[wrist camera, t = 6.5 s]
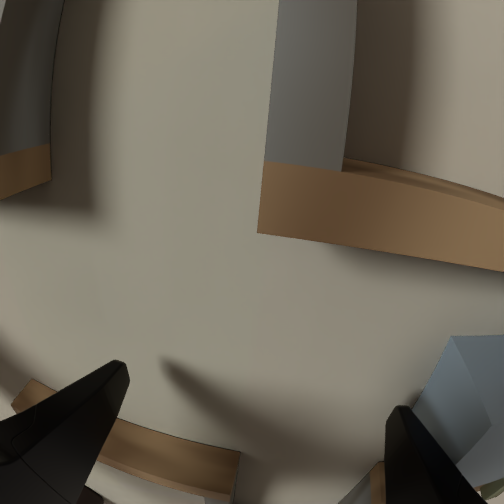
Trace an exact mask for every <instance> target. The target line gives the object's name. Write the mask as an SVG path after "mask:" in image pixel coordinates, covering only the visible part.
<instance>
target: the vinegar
mask: <svg viewBox="0 0 504 504" xmlns="http://www.w3.org/2000/svg"><path fill="white" fill-rule="evenodd" d="M103 503H104V501H103V499H102V497H100V496H99V495H98V494H97V493H95V492H94V491H92V490H91V489H89V488H88V487H86V486H85V485H84V487H83V489H82V491H81V494H80V496H79V498H78V500H77V502H76V504H103Z"/></svg>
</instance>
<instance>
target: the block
mask: <svg viewBox="0 0 504 504" xmlns="http://www.w3.org/2000/svg"><path fill="white" fill-rule="evenodd" d="M412 411H413V412H414V414H415V415H416V416H417V417H418V418H419V420H420V421H421V422H422V423H423V425H424V426H425V427H426V428H427V430H428V431H429V432H430V434H431V435H432V436H433V437H434V439H435V440H436V441H437V442H438V444H439V445H440V446H441V447H442V449H443V450H444V451H445V453H446V454H447V455H448V456H449V458H450V459H451V460H452V461H453V463H454V464H455V465H456V467H457V468H458V469H459V470H460V472H461V473H462V475H463V476H464V477H465V478H466V479H467V481H468V482H469V483H470V484H471V486H472V487H473V488H474V487H477V486H480V485H484V484H487V483H490V482H493V481H496V480H498V479H501V478H504V335H487V336H451V337H450V339H449V341H448V344H447V346H446V348H445V350H444V352H443V354H442V356H441V358H440V360H439V362H438V364H437V366H436V368H435V370H434V372H433V374H432V375H431V377H430V379H429V381H428V383H427V385H426V386H425V388H424V390H423V392H422V393H421V395H420V397H419V399H418V400H417V402H416V404H415V405H414V407H413V409H412Z"/></svg>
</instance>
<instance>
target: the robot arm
mask: <svg viewBox="0 0 504 504" xmlns="http://www.w3.org/2000/svg"><path fill="white" fill-rule="evenodd" d="M129 383H130V377H129V374H128V370H127V366H126V364H125V363H124V362H122V361H119V360H112V361H110V362H109V363H107V364H105V365H104V366H102V367H100V368H98V369H97V370H95V371H93V372H92V373H90V374H88V375H86V376H85V377H83V378H81V379H79V380H78V381H76V382H74V383H72V384H71V385H69V386H67V387H65V388H64V389H62V390H60V391H58V392H56V393H55V394H53V395H51V396H49V397H48V398H46V399H44V400H42V401H40V402H39V403H37V404H36V405H33V406H31V407H29V408H28V409H26V410H24V411H22V412H20V413H18V414H16V415H14V416H11V417H9V418H7V419H4V420H2V421H0V504H76V502H77V500H78V498H79V496H80V494H81V491H82V489H83V487H84V485H85V483H86V481H87V479H88V476H89V474H90V472H91V470H92V468H93V466H94V464H95V462H96V460H97V458H98V455H99V453H100V451H101V449H102V447H103V445H104V443H105V441H106V439H107V437H108V435H109V433H110V431H111V429H112V427H113V425H114V423H115V421H116V419H117V416H118V413H119V411H120V408H121V405H122V402H123V400H124V397H125V394H126V391H127V389H128V386H129ZM384 470H385V492H386V504H488V503H487V502H486V501H485V500H484V499H483V498H482V497H481V496H480V495H479V494H478V493H477V492H476V491H475V489H474V488H473V487H472V486H471V484H470V483H469V482H468V481H467V479H466V478H465V477H464V476H463V475H462V473H461V472H460V470H459V469H458V468H457V467H456V465H455V464H454V463H453V461H452V460H451V459H450V458H449V456H448V455H447V454H446V453H445V451H444V450H443V449H442V447H441V446H440V445H439V444H438V442H437V441H436V440H435V439H434V437H433V436H432V435H431V434H430V432H429V431H428V430H427V428H426V427H425V426H424V425H423V423H422V422H421V421H420V420H419V418H418V417H417V416H416V415H415V414H414V412H413V411H412V410H411V409H410V407H409V406H406V405H398V406H396V407H395V408H394V410H393V411H392V413H391V414H390V416H389V417H388V419H387V421H386V428H385V455H384Z"/></svg>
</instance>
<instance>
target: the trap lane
mask: <svg viewBox="0 0 504 504" xmlns="http://www.w3.org/2000/svg"><path fill="white" fill-rule="evenodd" d="M63 3H64V0H0V200H2V199H4V198H7V197H9V196H11V195H14V194H16V193H19V192H21V191H23V190H26V189H28V188H31V187H34V186H36V185H39V184H41V183H44V182H47V181H50V180H52V179H51V161H50V102H51V86H52V74H53V64H54V55H55V48H56V41H57V34H58V28H59V23H60V18H61V13H62V8H63ZM356 18H357V0H279V9H278V19H277V30H276V41H275V51H274V62H273V73H272V83H271V94H270V104H269V115H268V125H267V135H266V146H265V156H264V166H263V177H262V187H261V197H260V207H259V217H258V228H257V233H261V234H269V235H276V236H283V237H290V238H297V239H304V240H311V241H317V242H324V243H331V244H338V245H344V246H351V247H357V248H364V249H370V250H377V251H383V252H389V253H396V254H402V255H408V256H414V257H420V258H426V259H432V260H438V261H444V262H450V263H456V264H461V265H467V266H473V267H479V268H484V269H490V270H495V271H501V272H504V198H502V197H499V196H496V195H493V194H490V193H487V192H484V191H480V190H477V189H474V188H471V187H467V186H464V185H460V184H457V183H453V182H450V181H446V180H443V179H439V178H435V177H431V176H427V175H423V174H419V173H415V172H411V171H407V170H402V169H398V168H393V167H389V166H384V165H379V164H374V163H369V162H364V161H359V160H353V159H348V158H343V156H344V148H345V141H346V133H347V125H348V117H349V108H350V99H351V89H352V78H353V66H354V53H355V38H356ZM55 393H56V391H54V390H52V389H50V388H48V387H46V386H44V385H43V384H41V383H39V382H37V381H35V380H33V379H31V380H30V381H29V383H28V384H27V385H26V386H25V387H24V389H23V390H22V391H21V392H20V394H19V395H18V396H17V397H16V399H15V400H14V401H13V402H12V404H11V406H12V408H13V409H14V411H15V412H16V413H17V414H18V413H20V412H22V411H24V410H26V409H28V408H29V407H31V406H33V405H36V404H37V403H39V402H40V401H42V400H44V399H46V398H48V397H49V396H51V395H53V394H55ZM239 457H240V452H238V451H232V450H227V449H222V448H217V447H213V446H208V445H204V444H200V443H196V442H192V441H188V440H184V439H180V438H176V437H173V436H169V435H166V434H163V433H159V432H156V431H153V430H150V429H147V428H144V427H141V426H138V425H135V424H132V423H129V422H126V421H124V420H121V419H118V418H117V419H116V421H115V423H114V425H113V427H112V429H111V431H110V433H109V435H108V437H107V439H106V441H105V443H104V445H103V447H102V449H101V451H100V453H99V455H98V458H97V460H98V461H100V462H102V463H104V464H107V465H109V466H111V467H114V468H116V469H119V470H121V471H124V472H126V473H129V474H131V475H134V476H137V477H139V478H142V479H145V480H148V481H151V482H154V483H157V484H160V485H163V486H166V487H170V488H173V489H177V490H180V491H184V492H187V493H191V494H195V495H199V496H203V497H204V498H205V504H233V500H234V493H235V486H236V479H237V471H238V464H239ZM474 489H475V491H476V492H477V491H481V496H482V498H483V499H484V500H488V499H491V498H494V497H497V496H498V495H500V494H501V493H502V492H503V491H504V478H501V479H498V480H496V481H493V482H490V483H487V484H484V485H480V486H477V487H474ZM338 504H386V492H385V470H384V462H378V463H377V464H376V465H375V466H374V468H373V469H372V470H371V471H370V472H369V473H368V474H367V475H366V476H365V477H364V478H363V479H362V480H361V481H360V482H359V483H358V484H357V485H356V486H355V487H354V488H353V489H352V490H351V491H350V492H349V493H348V494H347V495H346V496H345V497H344V498H343V499H342V500H341V501H340V502H339V503H338Z"/></svg>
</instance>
